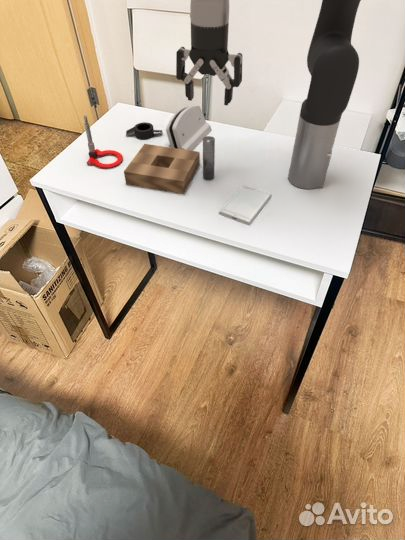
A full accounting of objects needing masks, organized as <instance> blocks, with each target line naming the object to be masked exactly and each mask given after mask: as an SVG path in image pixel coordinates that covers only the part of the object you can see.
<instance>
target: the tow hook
mask: <svg viewBox="0 0 405 540" xmlns="http://www.w3.org/2000/svg"><path fill="white" fill-rule="evenodd" d="M83 120H84V129H85V133H86V138H87V142H88V143H87V147H88V151H89V152H88V160H87V162H86V165H87V166H89V167H92V166H95V168H98V169H103V170H112V169H115V168H118V167H120V166H121V165H122V164H123V162H124V156H123V154H122V153H121V152H119V151H117V150H112V149H108V150H107V149H106V150H100V149H98V148H96V147H95V143H94V142H93V137H92V131H91V127H90V123H89V121H88V116H87V115H83ZM105 156H112V157H113V156H114V157H116V158H117V160H115V161H114V162H111V163H103V162H101V161H99V159H98V158H102V157H105Z"/></svg>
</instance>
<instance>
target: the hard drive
mask: <svg viewBox="0 0 405 540" xmlns="http://www.w3.org/2000/svg"><path fill="white" fill-rule="evenodd" d="M271 197H272V194H271V193H269V192H268V191H267V192H266V191H264V190H260V189H258V188H255V187H251V186H249V185H246V184H242V185H240V187H239V188H238V189H237V190H236V192H235V193H234V194H233V195H232V196H231V197H230V199H229V200H228V201H227V202H226V203H225V204H224V205H223V206H222V208H221V209H220V210H219V211H218V214H219V215H221V216H222V217H226V218H228V219H231V220H234V221H236V222H239V223H242V224H244V225H247V226H250V225H251V224H252V223H253V221H254V220H255V219H256V217H257V216H258V215H259V214H260V212H261V211H262V210H263V208H264V207H265V206H266V204H267V203H268V201H270V199H271Z"/></svg>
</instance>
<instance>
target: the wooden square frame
mask: <svg viewBox="0 0 405 540" xmlns="http://www.w3.org/2000/svg"><path fill="white" fill-rule="evenodd" d="M200 154H201V153H200V151H195V150H193V151H190V150H183V149H177V148H171V146H170V147H169V146H162V145H156V144H150V143H149V144H148V143H144V144H143V145H142V146H141V148H139V150H138V152H137V153H136V154H135V156H134V157H133V158H132V160H131V161H130V162H129V164H128V165H127V166H126V168H125V169H124V171H123V174H124V179H125V185H127V186H133V187H140V188H144V189H150V190H156V191H160V192H161V191H162V192H165V193H166V192H167V193H171V194H179V195H185V193H186V192H187V190H188V187H189V186H190V185H191V182H192V180H193V178H194V176H195V175H196V173H197V171H198V169H199V167H200V165H201V162H200V161H201V160H200V156H201V155H200Z"/></svg>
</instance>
